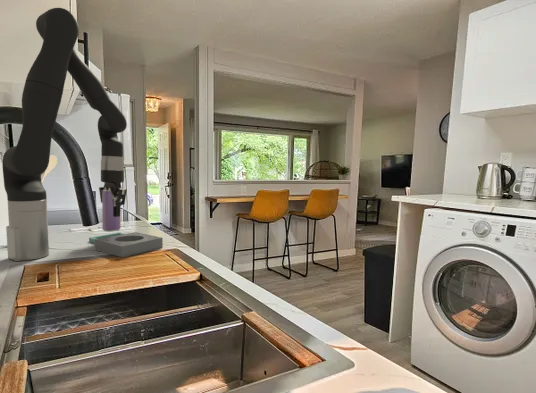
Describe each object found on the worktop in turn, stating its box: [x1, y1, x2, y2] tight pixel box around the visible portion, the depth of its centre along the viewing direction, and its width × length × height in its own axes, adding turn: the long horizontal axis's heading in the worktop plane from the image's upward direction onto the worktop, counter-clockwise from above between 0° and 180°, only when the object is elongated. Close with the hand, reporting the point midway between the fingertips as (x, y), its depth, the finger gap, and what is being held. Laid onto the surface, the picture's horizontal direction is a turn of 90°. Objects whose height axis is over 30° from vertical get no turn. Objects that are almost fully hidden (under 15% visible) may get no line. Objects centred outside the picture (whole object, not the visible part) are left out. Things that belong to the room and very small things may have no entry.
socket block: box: [94, 231, 164, 258], centre depth 106 cm, size 15×15×4 cm
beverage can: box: [101, 190, 122, 233], centre depth 115 cm, size 6×6×15 cm
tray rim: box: [88, 232, 126, 244], centre depth 116 cm, size 12×12×2 cm
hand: (112, 215), depth 115 cm, fingers closed on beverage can, 4 cm apart
